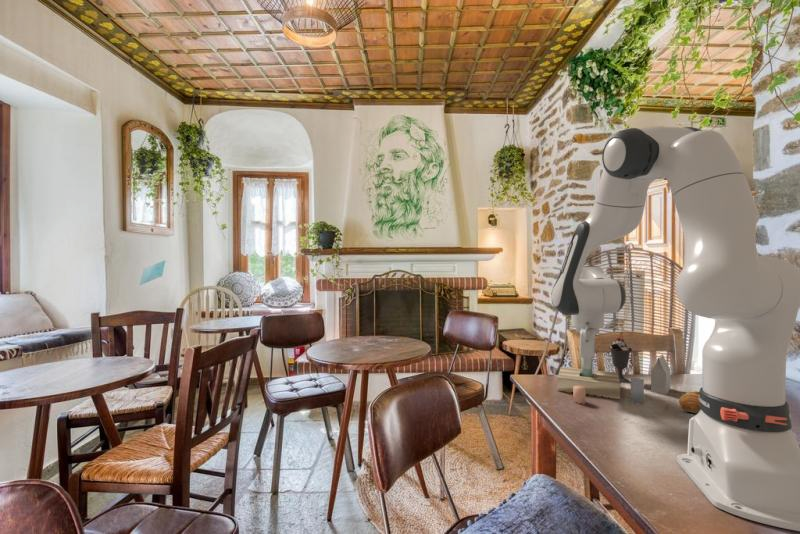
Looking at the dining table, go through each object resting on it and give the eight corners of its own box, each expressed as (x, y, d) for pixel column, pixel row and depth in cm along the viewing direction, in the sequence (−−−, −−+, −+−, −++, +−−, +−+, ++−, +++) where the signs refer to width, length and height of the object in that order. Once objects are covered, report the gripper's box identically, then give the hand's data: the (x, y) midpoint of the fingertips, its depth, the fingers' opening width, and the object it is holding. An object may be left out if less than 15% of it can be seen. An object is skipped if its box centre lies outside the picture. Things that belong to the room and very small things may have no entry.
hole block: (620, 399, 106) (620, 384, 106) (557, 390, 113) (557, 377, 113) (617, 386, 117) (617, 372, 116) (560, 379, 124) (560, 366, 124)
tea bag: (670, 388, 114) (670, 355, 114) (666, 394, 109) (666, 359, 109) (655, 386, 116) (655, 353, 116) (650, 392, 111) (650, 357, 111)
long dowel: (592, 381, 113) (592, 354, 113) (581, 380, 114) (581, 353, 114) (592, 378, 116) (592, 352, 115) (581, 377, 117) (581, 351, 117)
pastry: (708, 419, 93) (708, 403, 93) (674, 411, 98) (674, 396, 98) (714, 408, 99) (713, 393, 99) (682, 401, 104) (682, 387, 104)
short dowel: (585, 404, 102) (585, 389, 102) (573, 403, 103) (572, 388, 103) (585, 401, 105) (585, 386, 105) (573, 399, 106) (573, 385, 106)
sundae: (625, 376, 125) (625, 331, 125) (636, 383, 119) (636, 335, 118) (604, 376, 126) (604, 330, 126) (614, 383, 119) (614, 335, 119)
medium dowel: (644, 404, 102) (644, 381, 102) (631, 402, 103) (631, 380, 103) (643, 400, 105) (643, 378, 105) (630, 398, 106) (630, 377, 106)
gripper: (600, 326, 104) (599, 377, 104) (598, 316, 122) (598, 359, 122) (574, 325, 107) (574, 374, 107) (576, 315, 125) (576, 357, 125)
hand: (587, 366), depth 115 cm, fingers closed on long dowel, 3 cm apart
